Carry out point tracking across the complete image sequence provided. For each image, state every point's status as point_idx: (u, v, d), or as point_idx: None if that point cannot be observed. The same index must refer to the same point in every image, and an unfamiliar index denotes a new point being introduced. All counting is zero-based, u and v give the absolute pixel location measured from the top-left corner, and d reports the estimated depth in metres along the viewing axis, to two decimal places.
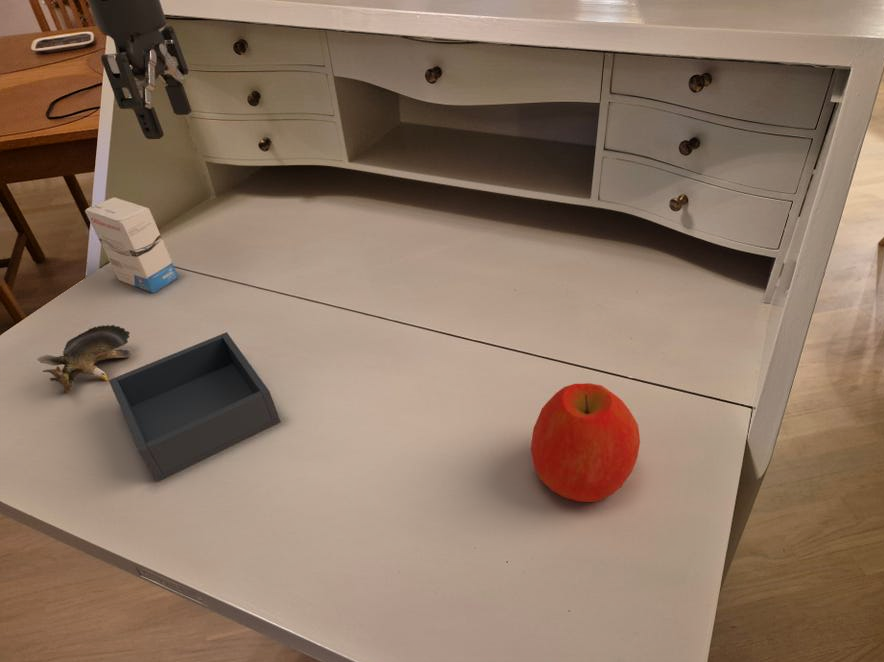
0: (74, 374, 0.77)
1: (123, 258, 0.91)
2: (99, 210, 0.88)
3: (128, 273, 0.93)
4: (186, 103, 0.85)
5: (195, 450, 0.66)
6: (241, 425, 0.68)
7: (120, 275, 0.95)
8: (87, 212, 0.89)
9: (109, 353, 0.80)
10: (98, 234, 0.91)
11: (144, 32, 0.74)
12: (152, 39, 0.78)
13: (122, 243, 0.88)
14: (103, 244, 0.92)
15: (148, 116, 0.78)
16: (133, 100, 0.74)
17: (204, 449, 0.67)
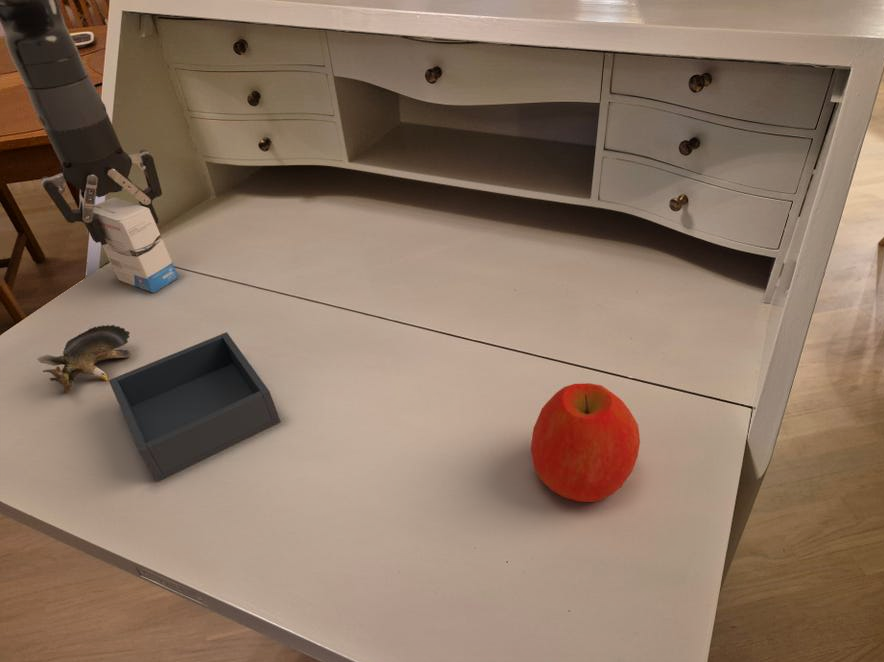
0: (74, 374, 0.77)
1: (124, 258, 0.91)
2: (99, 210, 0.88)
3: (128, 273, 0.93)
4: None
5: (195, 450, 0.66)
6: (241, 425, 0.68)
7: (120, 275, 0.95)
8: None
9: (109, 353, 0.80)
10: None
11: (73, 163, 0.81)
12: (107, 163, 0.84)
13: (123, 242, 0.88)
14: None
15: (89, 227, 0.87)
16: None
17: (204, 449, 0.67)
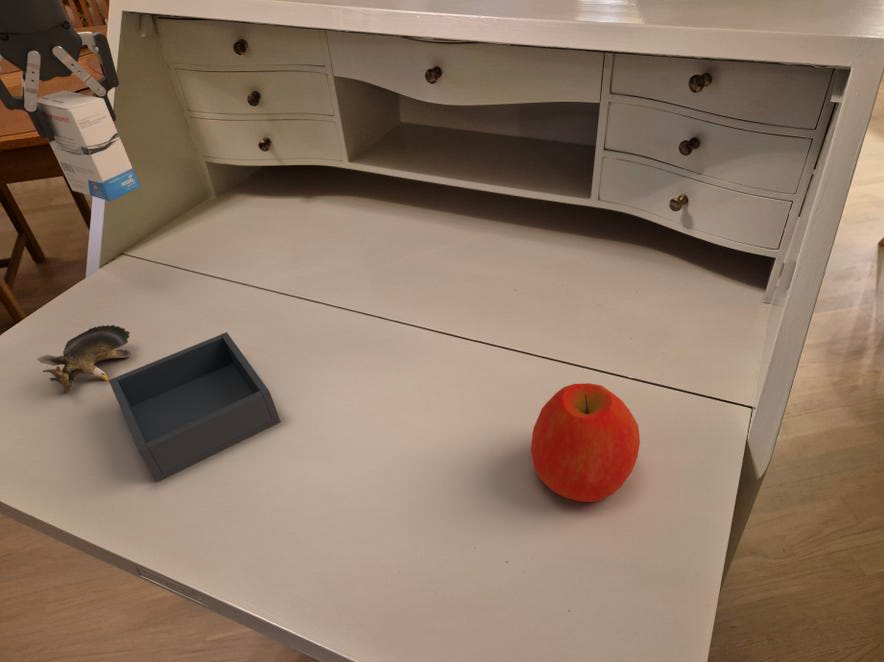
0: (74, 374, 0.77)
1: (75, 159, 0.79)
2: (46, 101, 0.77)
3: (81, 178, 0.81)
4: None
5: (195, 450, 0.66)
6: (241, 425, 0.68)
7: (73, 183, 0.83)
8: None
9: (109, 353, 0.80)
10: None
11: (10, 33, 0.69)
12: (52, 40, 0.73)
13: (73, 138, 0.77)
14: (52, 144, 0.80)
15: (33, 118, 0.75)
16: None
17: (204, 449, 0.67)
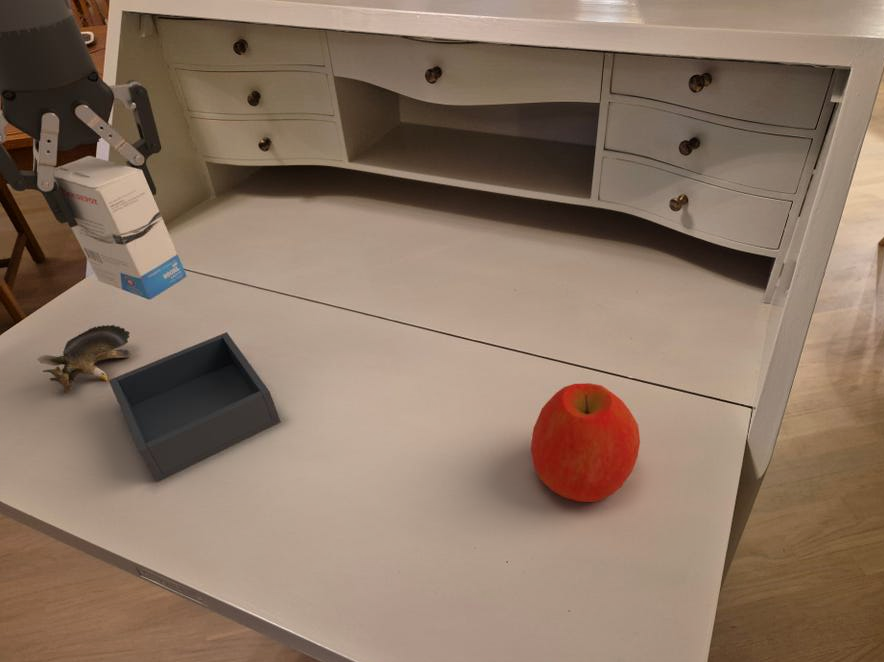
0: (74, 374, 0.77)
1: (104, 247, 0.60)
2: (65, 174, 0.57)
3: (111, 270, 0.62)
4: None
5: (195, 450, 0.66)
6: (241, 425, 0.68)
7: (100, 273, 0.64)
8: None
9: (109, 353, 0.80)
10: None
11: (17, 91, 0.50)
12: (74, 96, 0.53)
13: (102, 223, 0.57)
14: (73, 227, 0.61)
15: (49, 199, 0.56)
16: None
17: (204, 449, 0.67)
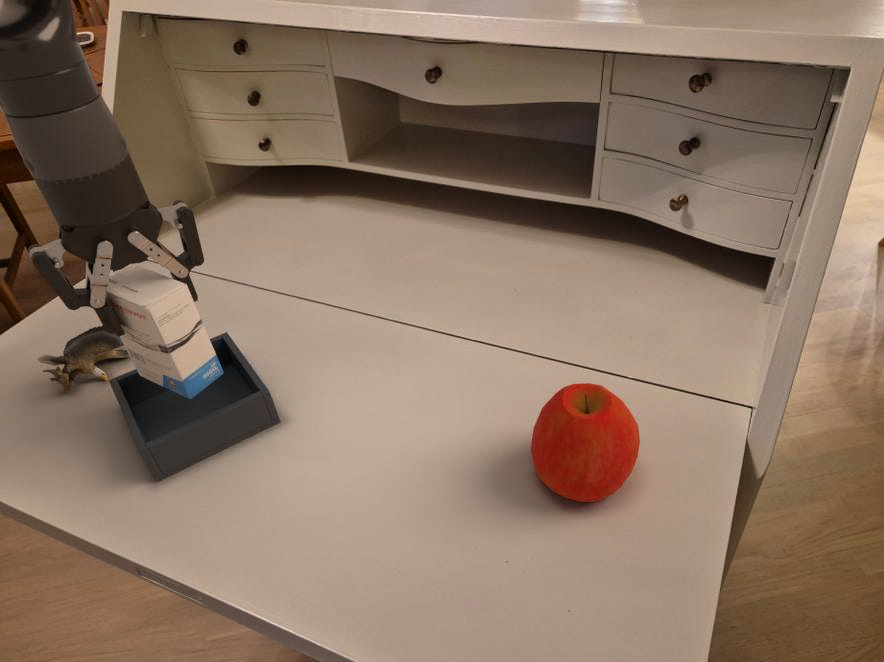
0: (74, 374, 0.77)
1: (149, 353, 0.63)
2: (115, 288, 0.61)
3: (154, 370, 0.65)
4: None
5: (195, 450, 0.66)
6: (241, 425, 0.68)
7: (142, 370, 0.67)
8: None
9: (109, 353, 0.80)
10: None
11: (77, 226, 0.53)
12: (127, 223, 0.57)
13: (148, 334, 0.61)
14: None
15: (100, 313, 0.60)
16: None
17: (204, 449, 0.67)
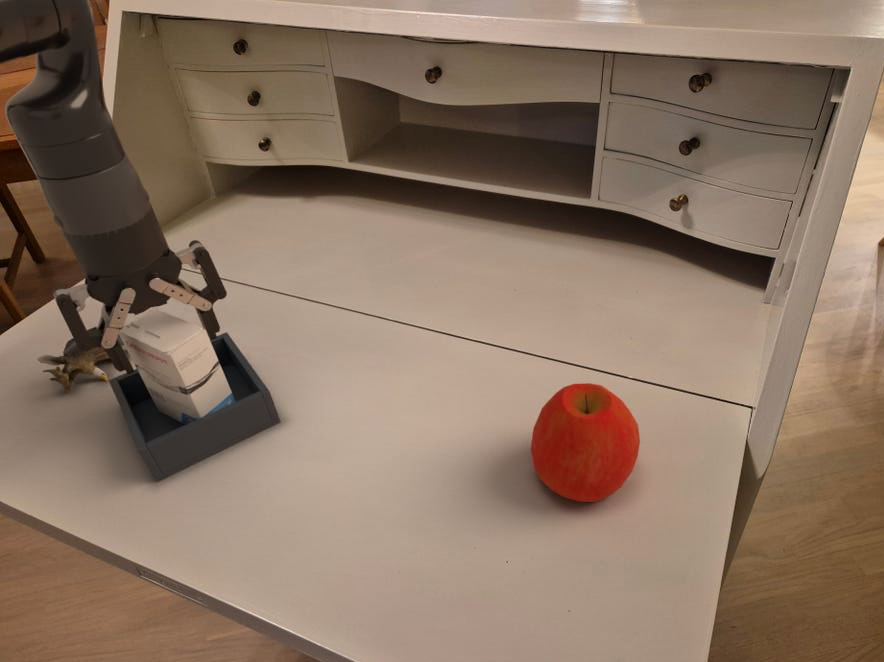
0: (74, 374, 0.77)
1: (169, 393, 0.67)
2: (138, 333, 0.64)
3: (173, 408, 0.69)
4: (208, 330, 0.67)
5: (195, 450, 0.66)
6: (241, 425, 0.68)
7: (161, 407, 0.71)
8: (121, 334, 0.65)
9: None
10: (134, 360, 0.67)
11: (103, 276, 0.56)
12: (148, 270, 0.60)
13: (169, 377, 0.64)
14: (141, 371, 0.68)
15: (110, 353, 0.62)
16: (76, 342, 0.59)
17: (204, 449, 0.67)
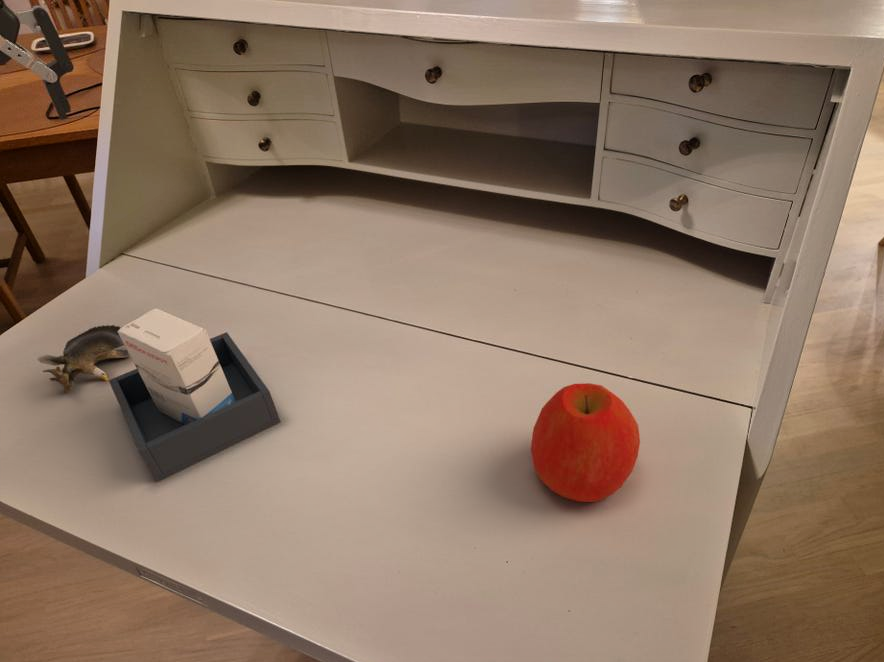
0: (74, 374, 0.77)
1: (169, 393, 0.67)
2: (138, 333, 0.64)
3: (173, 408, 0.69)
4: (56, 107, 0.67)
5: (195, 450, 0.66)
6: (241, 425, 0.68)
7: (161, 407, 0.71)
8: (121, 334, 0.65)
9: (109, 353, 0.80)
10: (134, 360, 0.67)
11: None
12: None
13: (169, 377, 0.64)
14: (141, 371, 0.68)
15: None
16: None
17: (204, 449, 0.67)
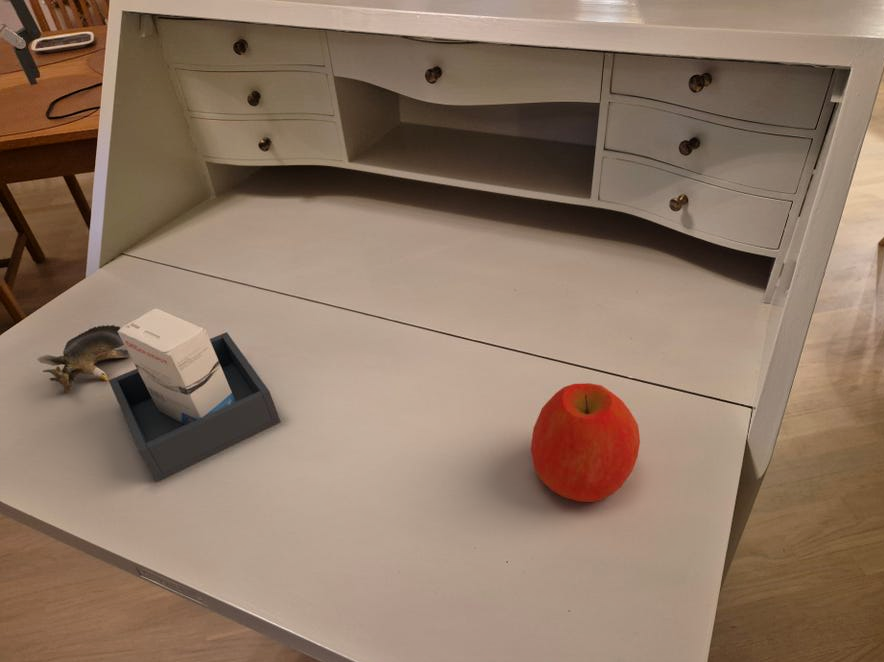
0: (74, 374, 0.77)
1: (169, 393, 0.67)
2: (138, 333, 0.64)
3: (173, 408, 0.69)
4: (26, 72, 0.71)
5: (195, 450, 0.66)
6: (241, 425, 0.68)
7: (161, 407, 0.71)
8: (121, 334, 0.65)
9: (109, 353, 0.80)
10: (134, 360, 0.67)
11: None
12: None
13: (169, 377, 0.64)
14: (141, 371, 0.68)
15: None
16: None
17: (204, 449, 0.67)
